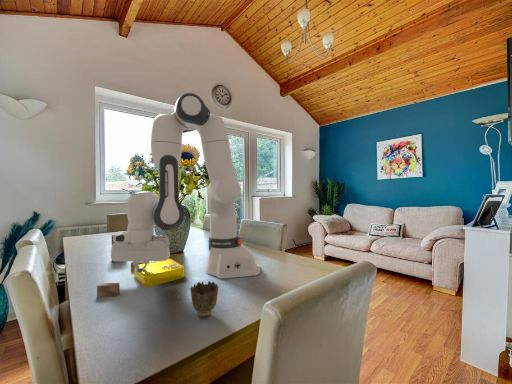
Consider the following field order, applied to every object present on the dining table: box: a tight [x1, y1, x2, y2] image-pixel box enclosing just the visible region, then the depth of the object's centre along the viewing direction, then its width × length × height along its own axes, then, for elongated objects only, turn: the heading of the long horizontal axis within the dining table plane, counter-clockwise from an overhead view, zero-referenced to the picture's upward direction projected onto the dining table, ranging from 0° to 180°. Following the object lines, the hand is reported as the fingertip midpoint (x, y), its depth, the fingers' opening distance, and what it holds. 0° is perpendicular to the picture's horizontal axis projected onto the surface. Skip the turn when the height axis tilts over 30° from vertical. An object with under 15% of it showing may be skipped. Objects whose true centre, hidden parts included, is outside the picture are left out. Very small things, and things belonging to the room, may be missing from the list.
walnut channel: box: [96, 261, 143, 298], centre depth 90 cm, size 6×25×4 cm, turn 2°
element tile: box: [133, 258, 185, 288], centre depth 95 cm, size 15×15×5 cm
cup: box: [190, 281, 219, 319], centre depth 66 cm, size 8×7×8 cm
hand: (141, 272), depth 90 cm, fingers closed
